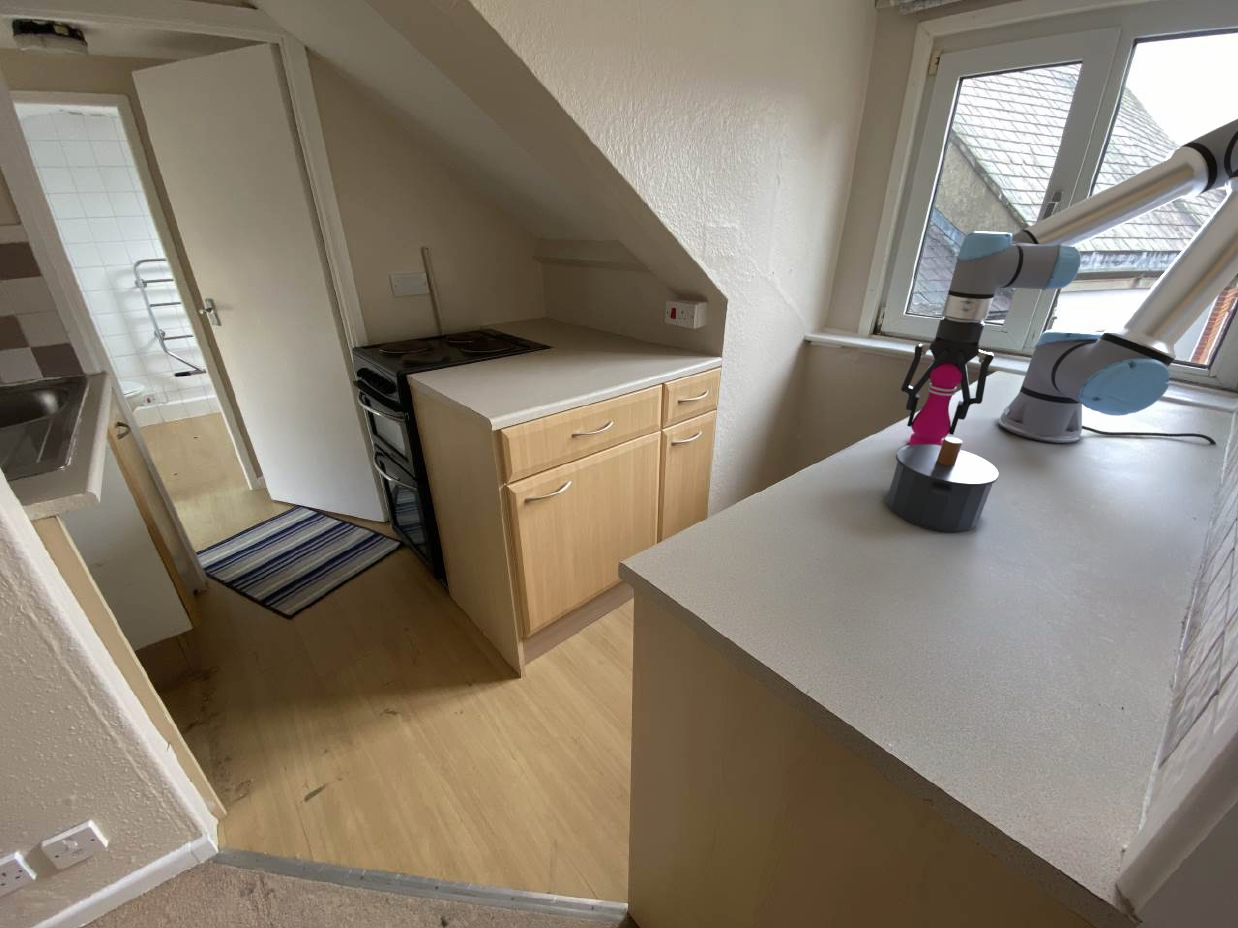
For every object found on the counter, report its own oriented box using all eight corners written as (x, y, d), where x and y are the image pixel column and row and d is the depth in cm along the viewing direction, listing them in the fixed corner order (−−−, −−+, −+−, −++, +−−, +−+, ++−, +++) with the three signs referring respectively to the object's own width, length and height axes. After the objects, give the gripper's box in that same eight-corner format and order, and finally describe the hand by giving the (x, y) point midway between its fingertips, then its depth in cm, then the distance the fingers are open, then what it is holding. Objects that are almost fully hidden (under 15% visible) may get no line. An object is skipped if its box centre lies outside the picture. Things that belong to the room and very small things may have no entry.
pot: (976, 497, 94) (992, 454, 91) (977, 550, 80) (995, 502, 76) (893, 478, 101) (904, 437, 97) (879, 524, 86) (892, 478, 82)
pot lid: (995, 462, 89) (1005, 434, 87) (998, 500, 78) (1010, 468, 75) (899, 443, 96) (907, 416, 93) (889, 475, 84) (897, 445, 82)
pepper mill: (948, 454, 110) (979, 360, 101) (911, 450, 112) (938, 357, 103) (937, 440, 117) (965, 351, 108) (902, 437, 118) (927, 348, 109)
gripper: (903, 316, 104) (876, 423, 114) (1027, 328, 95) (985, 445, 105) (907, 310, 110) (881, 413, 120) (1024, 322, 100) (985, 432, 111)
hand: (930, 428), depth 112 cm, fingers closed on pepper mill, 7 cm apart
